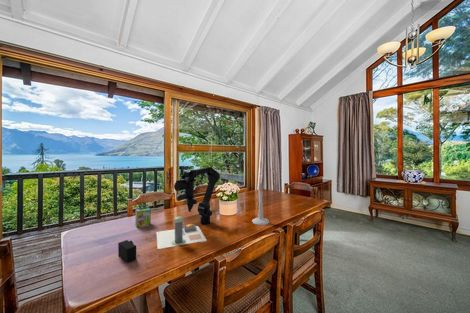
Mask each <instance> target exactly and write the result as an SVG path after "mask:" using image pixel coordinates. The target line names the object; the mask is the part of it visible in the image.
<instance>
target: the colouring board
mask: <svg viewBox="0 0 470 313" xmlns="http://www.w3.org/2000/svg"><path fill="white" fill-rule="evenodd" d="M195 227H196V231H190V232H185V231H184V229H183V242H182V243H179V244H176V243H175V228H174V229H168V230H160V231H156V243H157V244H156V246H157V250H160V249H166V248H171V247H178V246H182V245H187V244H194V243H198V242H199V243H204V242H207V238H206V236H205V235H204V233H203V232H202V230H201V228H200V227H199V226H198V225H195Z"/></svg>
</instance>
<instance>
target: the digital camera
mask: <svg viewBox="0 0 470 313" xmlns="http://www.w3.org/2000/svg"><path fill="white" fill-rule="evenodd" d="M117 245H118V248H117V250H118V258H120V259H121V260H122V261H124V262H125V263H126V264H130V263H132V262H134V261H136V260H137V245H136V244H134V241H133V240H128V239H126V240H122V241H120V242H118V243H117Z"/></svg>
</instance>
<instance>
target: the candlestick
mask: <svg viewBox="0 0 470 313" xmlns="http://www.w3.org/2000/svg"><path fill="white" fill-rule="evenodd" d="M263 193H264V191H263V182H259V191H258V194H259V199H258V215H257V216H258V217H255V218H253V219H252V220H251V223H252V222H253V223H252V224H254V225H256V224H257V226H267V225H269V224H270V221H269V219H268V218H264V208H263V206H264V205H263ZM268 223H269V224H268ZM266 224H267V225H266Z"/></svg>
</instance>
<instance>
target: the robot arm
mask: <svg viewBox="0 0 470 313" xmlns="http://www.w3.org/2000/svg"><path fill="white" fill-rule="evenodd" d="M204 174H206V176H208V178H207V180H208V184H207V188H206V190H205V193H204V196H203V200H202V201H201V202H199V203H198V201H197V199H196V198H195V182H196V181H197V179H196V178H197V177H198V176H200V175H204ZM220 178H221V174H220V173H219V172H218V171H217V170H216V169H215V168H213V167H211V166H204V167H201V168H196V169H185V170H184V171H183V174H182V175H181V177H180V178H179V179H176V180H175V182H174V185H173V188H174V191H176V192H179V191H183V192H181V193H179V194H177V195H176V196H175V197H176V200H177V202H181V201H182V200H184V203H185V205H186V206H187V211H188V212H189V213H190V212H191V213H192V209H193V207H194V206H195V205H197V204H198V206H197V212H198V215H199V216H200V217H199V223H200V224H201V225H211V224H212V223H211V216H213V211H212V210H211V204H210V202H211V199H212V196H213V191H214V190H215V187H216V184H217V183H218V182H219V180H220Z"/></svg>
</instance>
